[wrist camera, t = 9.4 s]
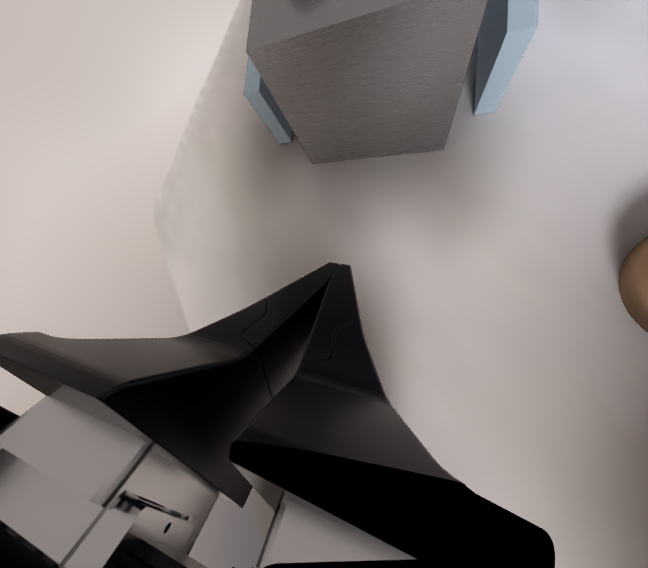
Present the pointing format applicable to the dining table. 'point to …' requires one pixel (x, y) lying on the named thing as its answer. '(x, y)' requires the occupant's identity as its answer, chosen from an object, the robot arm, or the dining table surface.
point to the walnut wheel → (636, 283)
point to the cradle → (491, 65)
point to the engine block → (365, 71)
